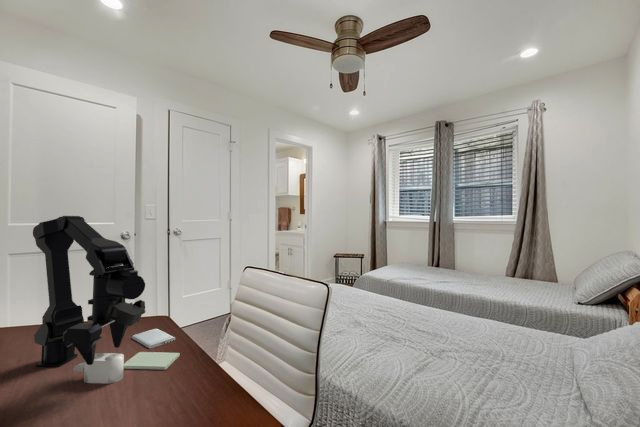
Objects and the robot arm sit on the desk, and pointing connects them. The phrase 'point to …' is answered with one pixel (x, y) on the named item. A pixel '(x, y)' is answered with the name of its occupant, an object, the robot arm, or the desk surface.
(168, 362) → the sage mat
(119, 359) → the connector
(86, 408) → the desk surface
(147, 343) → the hard drive
